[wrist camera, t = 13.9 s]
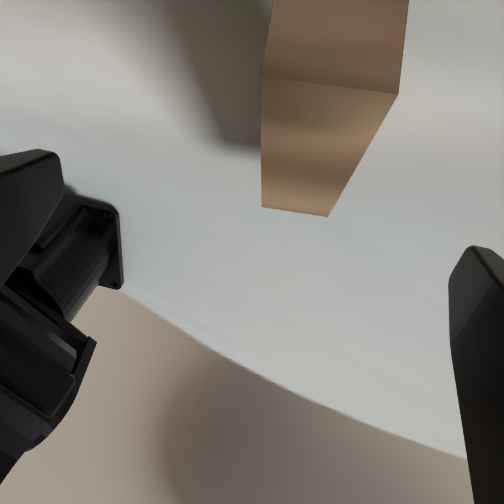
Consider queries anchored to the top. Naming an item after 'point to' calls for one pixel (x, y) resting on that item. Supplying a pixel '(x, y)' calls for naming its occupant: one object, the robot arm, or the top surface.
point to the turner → (325, 95)
